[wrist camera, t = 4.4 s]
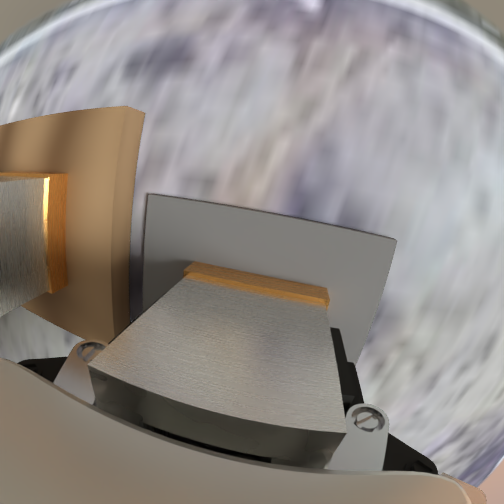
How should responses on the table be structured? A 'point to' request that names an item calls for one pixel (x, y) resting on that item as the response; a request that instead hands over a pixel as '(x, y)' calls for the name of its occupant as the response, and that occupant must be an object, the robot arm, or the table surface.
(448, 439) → the table surface
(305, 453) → the sleeve
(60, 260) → the sleeve seated
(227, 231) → the mat
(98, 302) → the pin board
